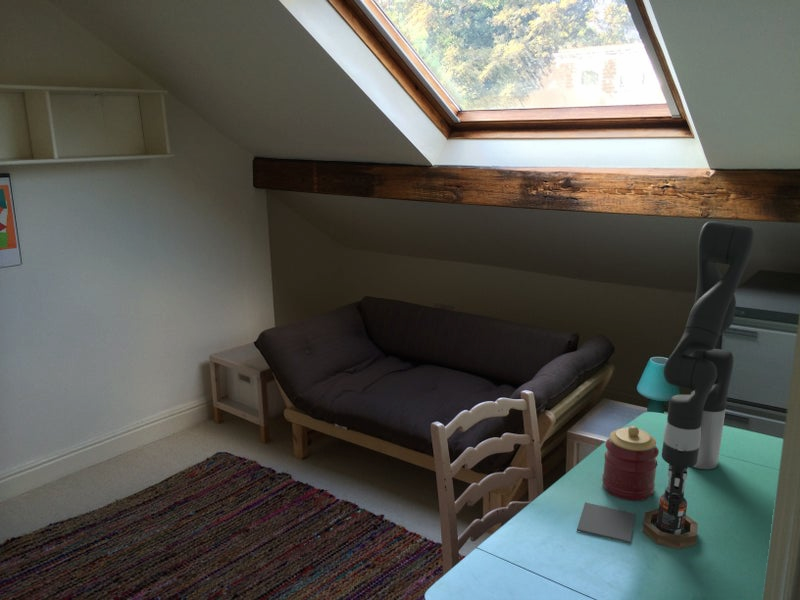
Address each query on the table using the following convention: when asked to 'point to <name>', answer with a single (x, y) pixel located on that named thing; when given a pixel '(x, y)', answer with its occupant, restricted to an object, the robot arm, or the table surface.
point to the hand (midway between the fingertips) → (673, 505)
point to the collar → (668, 538)
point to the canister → (630, 464)
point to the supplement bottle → (668, 521)
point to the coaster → (606, 522)
